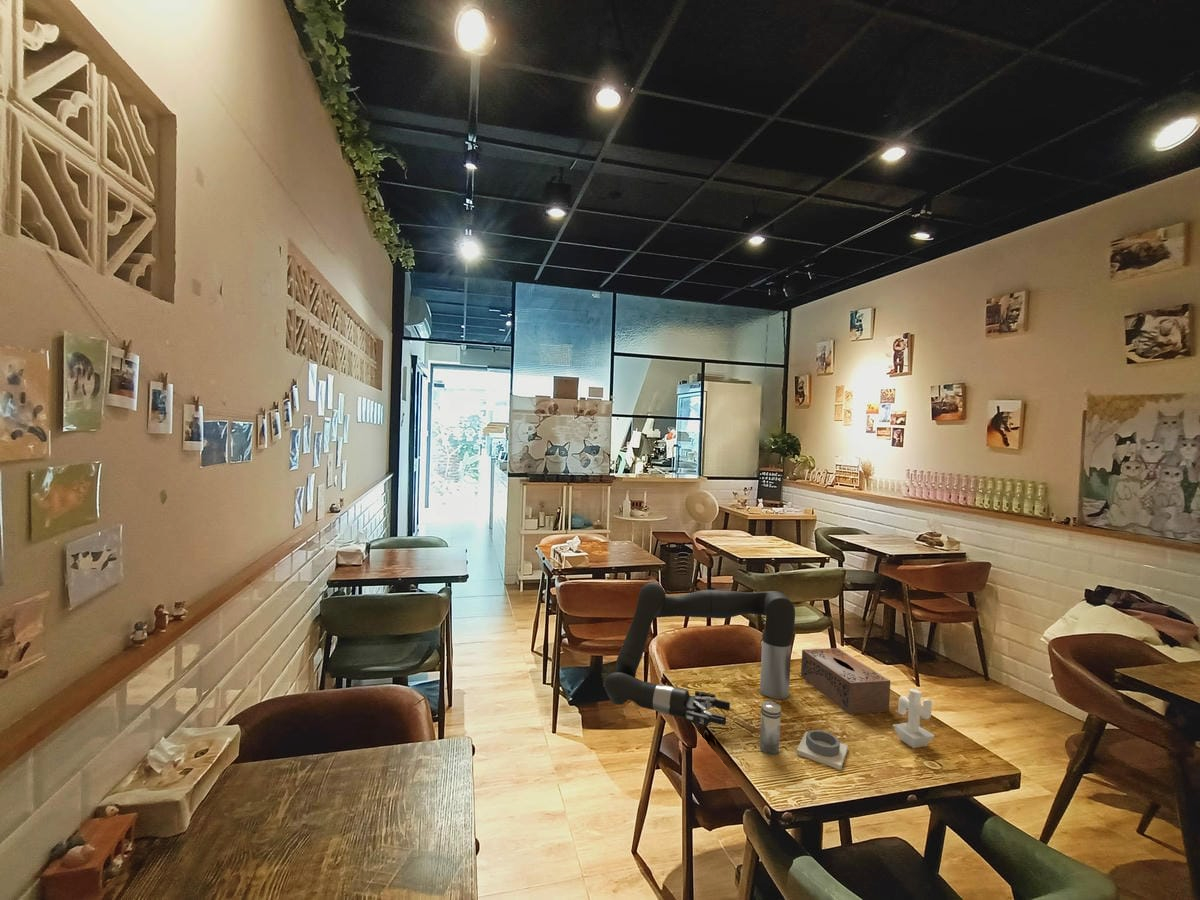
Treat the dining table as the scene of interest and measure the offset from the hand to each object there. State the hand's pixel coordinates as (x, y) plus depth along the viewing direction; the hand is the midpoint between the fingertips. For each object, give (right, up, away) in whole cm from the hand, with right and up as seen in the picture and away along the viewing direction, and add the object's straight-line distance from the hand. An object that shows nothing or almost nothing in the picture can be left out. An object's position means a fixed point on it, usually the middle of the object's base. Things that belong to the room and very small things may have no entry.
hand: (727, 713), depth 144 cm
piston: (+10, -8, -4) cm, 13 cm away
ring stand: (+25, -8, -4) cm, 26 cm away
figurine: (+53, -10, +2) cm, 54 cm away
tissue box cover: (+47, -9, +31) cm, 57 cm away
